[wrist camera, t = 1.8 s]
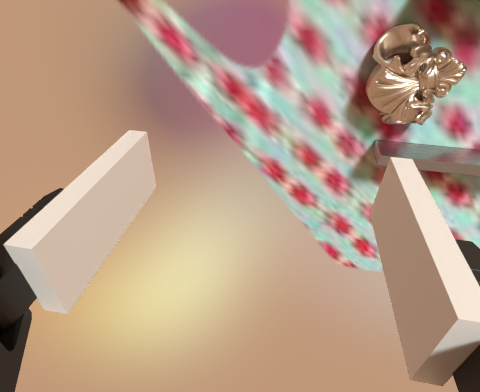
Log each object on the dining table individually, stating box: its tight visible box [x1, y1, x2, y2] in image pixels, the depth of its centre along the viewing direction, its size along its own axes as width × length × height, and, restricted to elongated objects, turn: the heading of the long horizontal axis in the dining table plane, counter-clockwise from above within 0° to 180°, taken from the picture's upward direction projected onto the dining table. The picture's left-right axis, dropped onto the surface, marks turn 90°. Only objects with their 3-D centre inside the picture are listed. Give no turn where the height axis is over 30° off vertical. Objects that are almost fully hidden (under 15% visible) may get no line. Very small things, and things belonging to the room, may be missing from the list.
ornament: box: [365, 23, 467, 125], centre depth 24 cm, size 8×7×4 cm
